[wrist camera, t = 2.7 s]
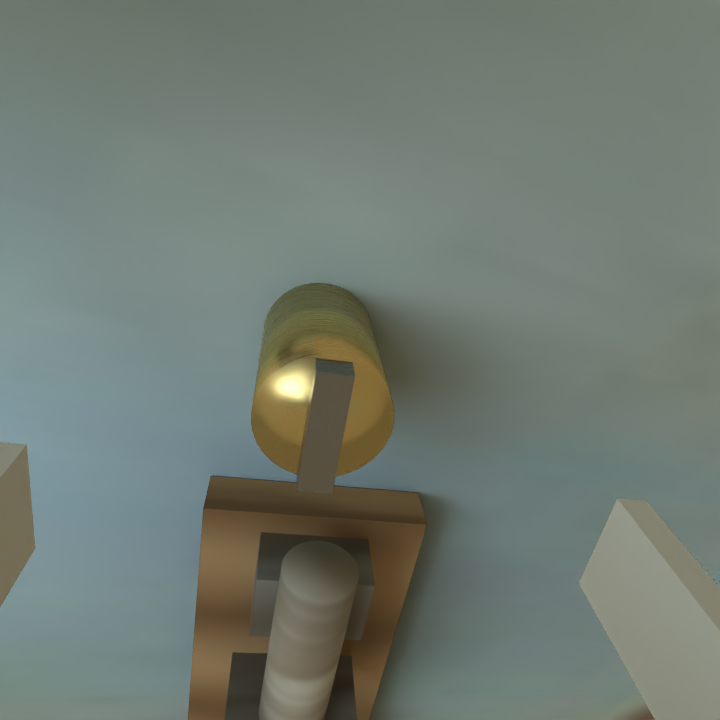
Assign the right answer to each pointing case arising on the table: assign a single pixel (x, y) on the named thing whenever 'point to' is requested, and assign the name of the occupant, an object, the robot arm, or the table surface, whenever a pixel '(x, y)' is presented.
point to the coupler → (320, 387)
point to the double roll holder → (298, 598)
